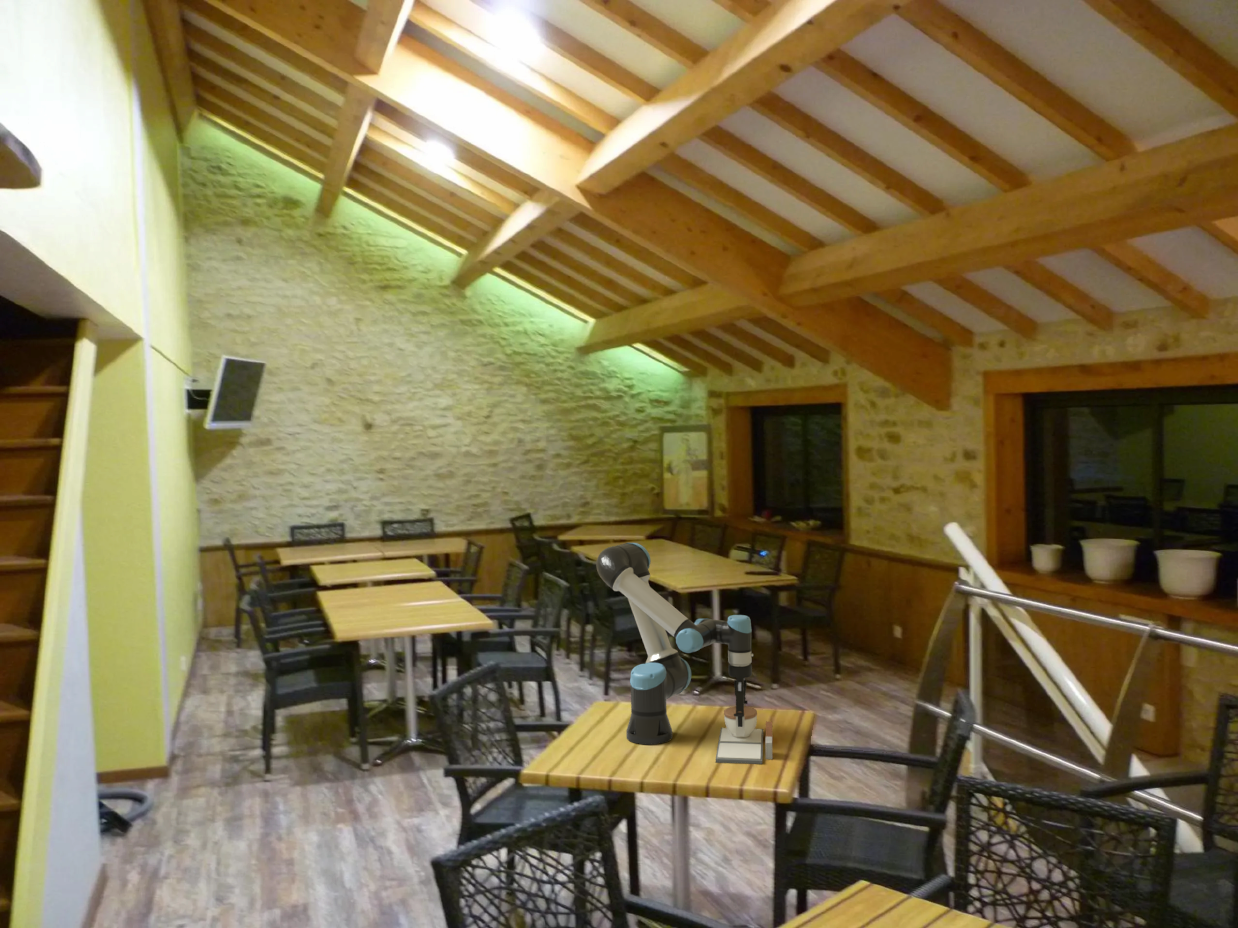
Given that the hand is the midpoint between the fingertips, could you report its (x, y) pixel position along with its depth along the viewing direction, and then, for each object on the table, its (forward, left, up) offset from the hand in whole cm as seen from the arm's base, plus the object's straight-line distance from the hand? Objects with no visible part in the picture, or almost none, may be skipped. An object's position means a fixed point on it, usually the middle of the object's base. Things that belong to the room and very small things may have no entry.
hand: (741, 729), depth 310 cm
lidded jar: (0, 0, -2) cm, 2 cm away
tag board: (+2, -8, -3) cm, 8 cm away
